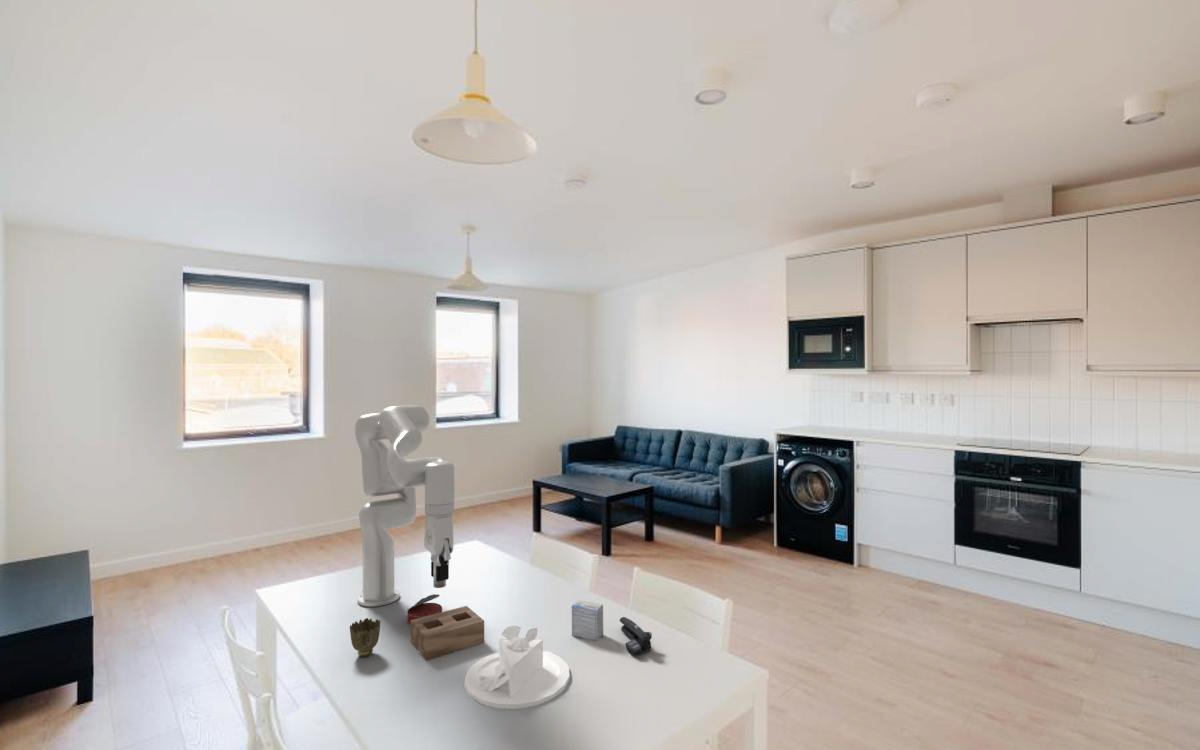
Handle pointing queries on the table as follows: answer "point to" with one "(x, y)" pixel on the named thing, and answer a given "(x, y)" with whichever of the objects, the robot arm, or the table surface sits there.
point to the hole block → (447, 632)
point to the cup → (365, 636)
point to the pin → (435, 583)
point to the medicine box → (587, 620)
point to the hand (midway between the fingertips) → (439, 577)
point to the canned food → (424, 608)
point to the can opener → (635, 637)
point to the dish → (517, 673)
